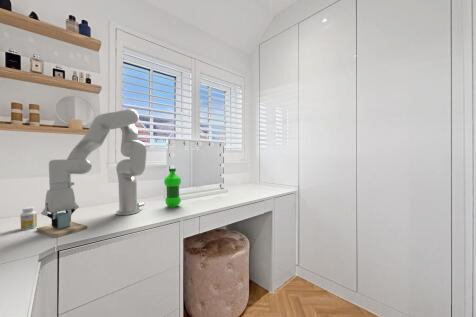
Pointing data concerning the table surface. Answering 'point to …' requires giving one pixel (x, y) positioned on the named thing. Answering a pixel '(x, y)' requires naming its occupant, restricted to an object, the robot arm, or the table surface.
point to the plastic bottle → (172, 188)
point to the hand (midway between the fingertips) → (61, 225)
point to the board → (60, 232)
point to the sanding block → (63, 220)
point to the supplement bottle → (28, 218)
